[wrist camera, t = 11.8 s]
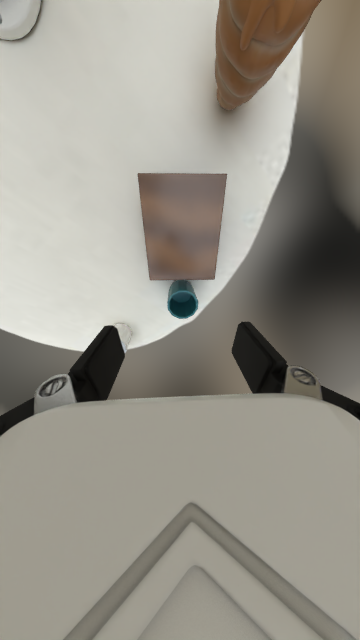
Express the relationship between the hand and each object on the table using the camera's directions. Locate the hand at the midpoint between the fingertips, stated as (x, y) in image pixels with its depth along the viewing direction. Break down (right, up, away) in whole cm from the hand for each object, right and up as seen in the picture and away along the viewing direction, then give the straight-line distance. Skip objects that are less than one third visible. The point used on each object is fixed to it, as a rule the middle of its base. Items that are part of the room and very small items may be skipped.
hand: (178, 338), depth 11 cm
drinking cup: (+1, +9, +17) cm, 20 cm away
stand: (0, +18, +17) cm, 25 cm away
